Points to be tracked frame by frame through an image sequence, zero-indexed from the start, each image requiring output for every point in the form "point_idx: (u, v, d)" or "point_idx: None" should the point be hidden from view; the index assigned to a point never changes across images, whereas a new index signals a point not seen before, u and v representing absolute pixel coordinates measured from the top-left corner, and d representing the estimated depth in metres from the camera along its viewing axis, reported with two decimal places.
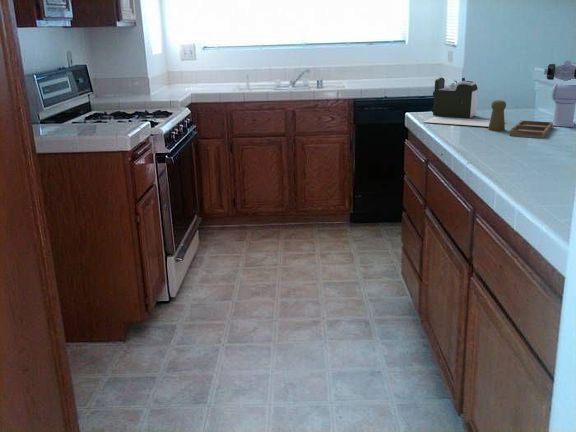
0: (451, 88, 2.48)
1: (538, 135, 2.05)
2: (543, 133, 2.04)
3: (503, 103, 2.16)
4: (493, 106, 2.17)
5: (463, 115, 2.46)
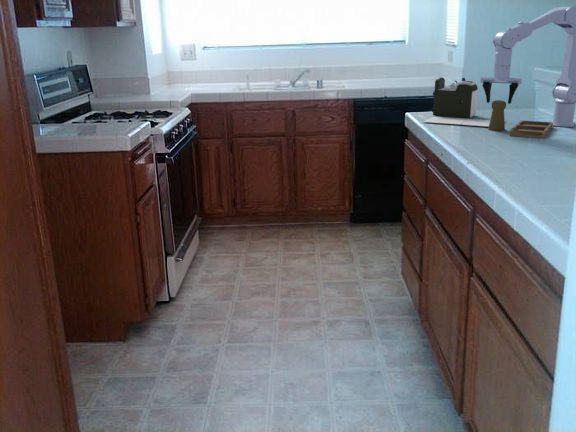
0: (451, 88, 2.48)
1: (538, 135, 2.05)
2: (543, 133, 2.04)
3: (503, 103, 2.16)
4: (493, 106, 2.17)
5: (463, 115, 2.46)
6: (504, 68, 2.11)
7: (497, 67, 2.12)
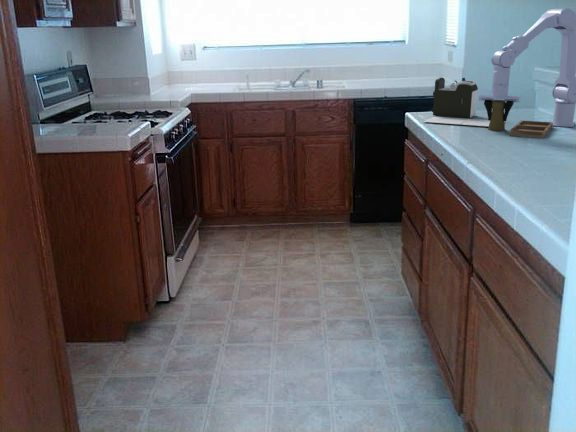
0: (451, 88, 2.48)
1: (538, 135, 2.05)
2: (543, 133, 2.04)
3: (503, 103, 2.16)
4: (493, 106, 2.17)
5: (463, 115, 2.46)
6: (502, 87, 2.13)
7: (495, 85, 2.14)
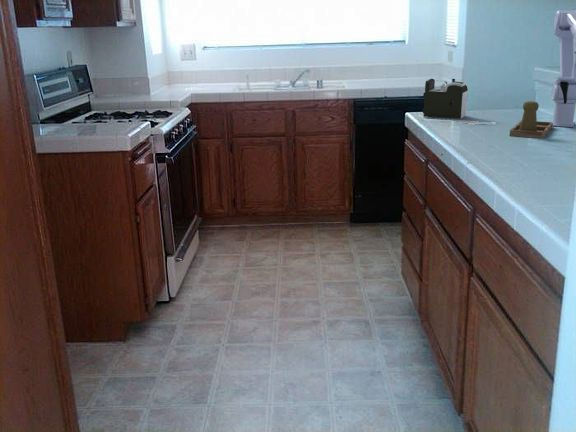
0: (441, 89, 2.48)
1: (538, 135, 2.05)
2: (543, 133, 2.04)
3: (536, 104, 2.06)
4: (525, 107, 2.07)
5: (454, 116, 2.46)
6: None
7: None
